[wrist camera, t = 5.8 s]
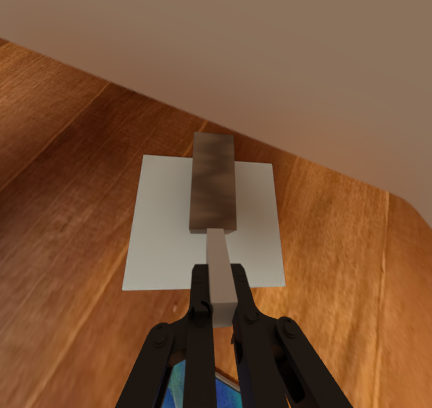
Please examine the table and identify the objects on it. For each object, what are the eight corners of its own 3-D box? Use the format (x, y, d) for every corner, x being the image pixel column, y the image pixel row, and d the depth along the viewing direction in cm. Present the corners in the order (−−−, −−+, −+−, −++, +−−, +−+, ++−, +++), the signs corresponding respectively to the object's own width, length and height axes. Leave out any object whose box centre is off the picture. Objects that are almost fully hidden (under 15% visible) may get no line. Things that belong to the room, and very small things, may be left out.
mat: (124, 289, 18) (121, 290, 18) (144, 157, 23) (143, 154, 23) (282, 285, 20) (285, 286, 20) (270, 165, 26) (271, 163, 25)
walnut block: (188, 229, 16) (194, 131, 19) (190, 233, 20) (194, 155, 24) (236, 230, 16) (233, 135, 20) (227, 234, 21) (226, 157, 24)
